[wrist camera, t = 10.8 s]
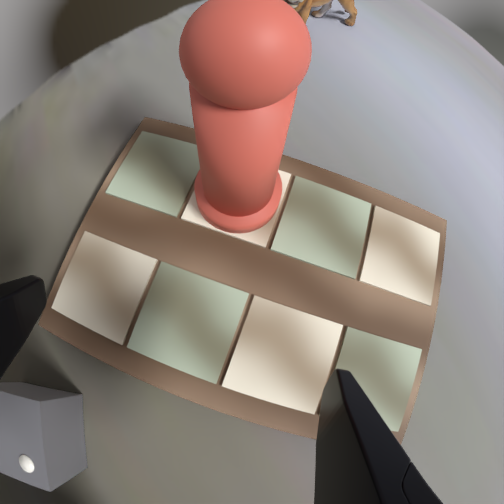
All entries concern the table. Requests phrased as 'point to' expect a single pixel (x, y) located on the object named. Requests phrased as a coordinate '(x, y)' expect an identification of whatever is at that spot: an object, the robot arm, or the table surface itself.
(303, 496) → the table surface
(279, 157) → the pawn
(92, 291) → the board
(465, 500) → the table surface
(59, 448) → the die
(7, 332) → the robot arm
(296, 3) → the lion figurine
